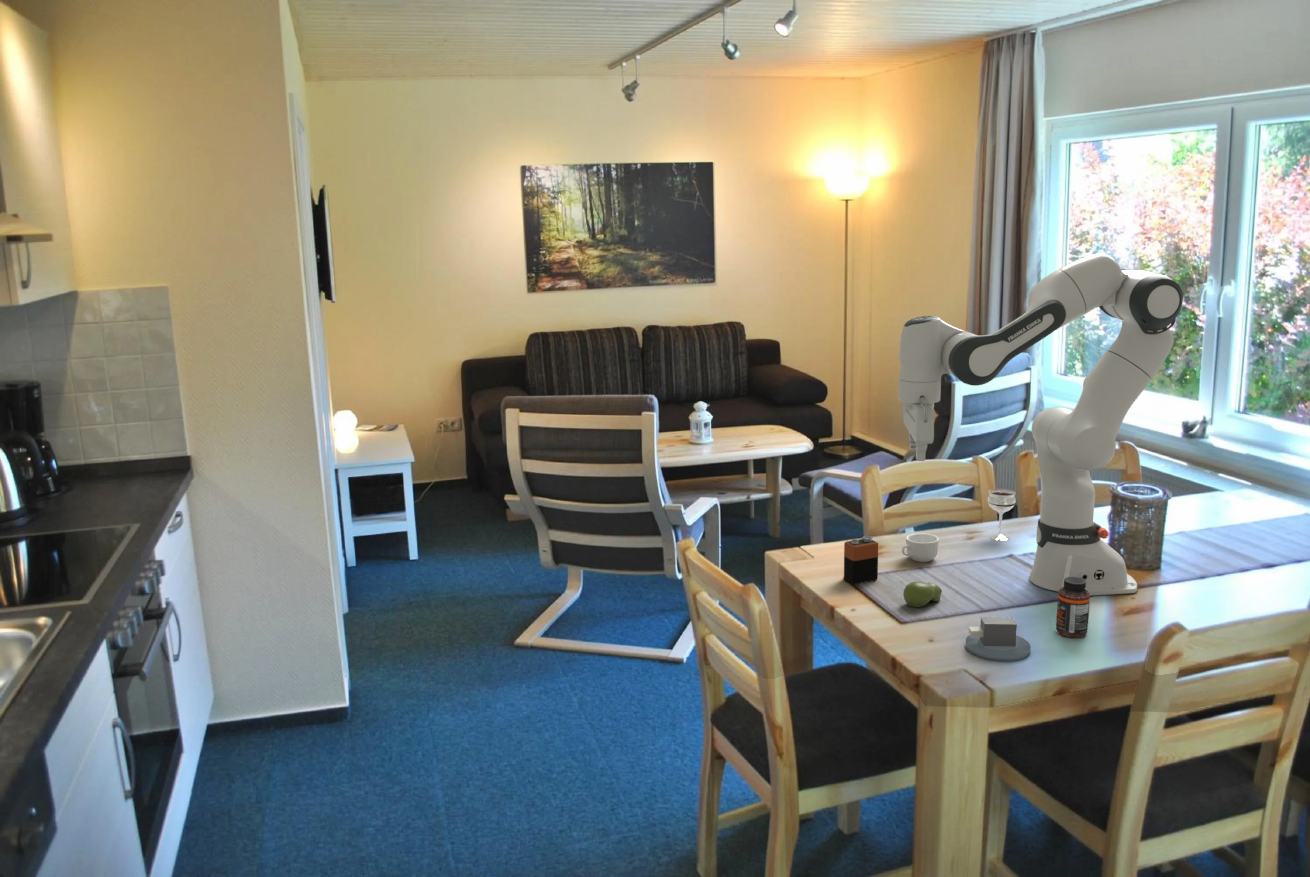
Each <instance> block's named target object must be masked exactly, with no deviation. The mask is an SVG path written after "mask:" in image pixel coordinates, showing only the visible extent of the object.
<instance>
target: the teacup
mask: <svg viewBox="0 0 1310 877" xmlns="http://www.w3.org/2000/svg"><path fill="white" fill-rule="evenodd" d="M939 542H940V539H939V537H938V536H937V535H934V534H932V533H921V532H919V533H918V532H917V533H912V534H908V535H907V536H905V544H904V545H903V547H902V548H901V554H903V555H904V556H906V557H909V558H910V559H912V561H915V562H917V563H930V562H931V561H932V560H934V559H935V558H936V556H937V555H938V551H939V550H938V549H939ZM905 548H906V549H905ZM905 550H906V552H905Z"/></svg>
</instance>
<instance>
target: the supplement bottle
mask: <svg viewBox="0 0 1310 877" xmlns="http://www.w3.org/2000/svg"><path fill="white" fill-rule="evenodd" d="M1085 587H1086V581H1085V580H1084V579H1082V578H1079V577H1067V578H1065V579H1064V587H1062V588H1060V589H1059V591H1057V601H1056V602H1057V603H1056V604H1057V606H1056V618H1055V620H1056V621H1055V631H1056V633H1058V634H1059V635H1061V636H1062V637H1067V638H1069V639H1070V638H1071V639H1073V638H1074V639H1079V638H1080V639H1081V638H1084V637H1086V636H1087V634H1088V630H1089V628H1088V627H1089V618H1090V617H1089V616H1090V604H1091V603H1090V602H1091V596H1090V593H1089V592H1088V591H1087V590H1086V589H1085Z"/></svg>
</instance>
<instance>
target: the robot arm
mask: <svg viewBox="0 0 1310 877" xmlns="http://www.w3.org/2000/svg"><path fill="white" fill-rule="evenodd" d="M1183 302H1184V294H1183V290H1182V288H1181V286H1180V285H1179V283H1178V282H1177V281H1175V280H1174V279H1172V278H1171V277H1169V276H1167V275H1164V274H1160V273H1155V272H1152V271H1148V270H1130V269H1126V268H1125V269H1124V268H1121V266H1120V265H1119V263H1118V262H1117V261H1116V259H1114V258H1113V257H1112V256H1110V255H1109V254H1107V253H1100V252H1099V253H1095V254H1091V255H1087V256H1085V257H1082V258H1080V259H1077V260H1075V261H1073V262H1070V263H1068V264H1066V265H1064V266H1062V267H1060V268H1059V269H1057V270H1056V269H1055V271H1053V272H1052V273H1050V274H1048V275H1046V276H1045V277H1043V278H1042V279H1040V281H1038V282H1037V283H1036V284H1035V285H1034V286H1032V288H1031V289H1030V291H1029V293H1028V298H1027V304H1028V308H1027V310H1026V311H1025V312H1024V313H1023V314H1022V315H1020V316H1018V317H1017V318H1015V319H1014V320H1012V321H1010V322H1009V323H1007V324H1006V325H1004V326H1003V327H1001V328H1000V329H998V330H996V331H995V332H993V333H989V334H985V335H983V334H982V335H979V334H978V335H977V334H975V333H972V332H970V331H967V330H964V329H960V328H958V327H955V326H952V325H951V324H949V323H947V322H945V321H944V320H942V319H941V318H940V317H939V316H936V315H927V316H926V315H922V316H918V317H915V318H911V319H910V320H907V321H906V322H905V323H904V324H903V327H902V329H901V333H900V342H899V353H898V354H899V356H898V359H899V362H900V372H899V374H898V386H897V387H898V388H897V389H898V391H897V393H898V395H897V400H898V401H899V402H901V406H902V407H901V408H902V419H903V420H902V421H903V425H904V426H905V428H906V429H907V431H908V438H909V439H908V440H909V449H910V451H915V459H916V461H918V462H924V461H925V460H926V455H927V454H926V452H927V449H928V445H931V444H933V442H934V440H935V416H934V415H935V412H934V409H935V403H939V402H941V395H942V394H941V392H942V390H941V389H942V388H941V386H942V376H943V375H944V374H948V375H951V376H954V377H955V378H957V379H958V380H959V381H960V382H962V383H964V384H966V385H969V386H975V387H976V386H982V385H986V384H988V383H989V382H992V381H993V380H994V379H995V378H996V377H997V376H998V375H999V374H1000V373H1001V371H1002V370H1003V368H1005V366H1006V365H1007V364H1008V363H1009V362H1010V361H1012V359H1014V358H1015V357H1017V356H1018V355H1020V354H1022V353H1023V352H1024V351H1026V350H1028V349H1030V348H1031V347H1032V346H1034V345H1035V344H1037V343H1038V342H1041V341H1042V340H1043V339H1045V338H1046V337H1048V336H1049V335H1051V334H1052V333H1054V332H1055V331H1057V330H1059V329H1060V328H1062V327H1064V326H1066V325H1067V324H1069V323H1071V322H1073V321H1075V320H1077V319H1079V318H1081V317H1083V316H1085V315H1087V314H1088V313H1089V312H1092V311H1093V310H1094V309H1095V308H1099V309H1100V310H1101V311H1102V312H1103V313H1104V314H1106V315H1107V316H1109V317H1112V318H1115V319H1118V320H1121V327H1120V331H1119V334H1118V335H1117V337H1116V339H1115V340H1114V341H1113V342H1112V343H1111V345H1110V346H1109V347H1108V348H1107V350H1106V351H1105V352H1104V353H1103V354H1102V355H1101V357H1100V359H1098V360H1097V362H1096V364H1095V365H1094V366H1093V367H1092V369H1091V370H1090V371H1089V373H1088V374H1087V375H1086V376H1085V378H1083V383H1082V392H1081V394H1080V397H1079V399H1078V402H1077V404H1076V406H1075V407H1074V409H1071V408H1069V407H1059V406H1058V407H1057V406H1056V407H1048V408H1045V409H1043V410H1041V411H1040V412H1038V413H1037V414H1036V416H1035V417H1034V419H1033V421H1032V424H1031V435H1032V437H1033V440H1034V442H1035V446H1036V453H1037V462H1038V467H1039V474H1040V476H1039V477H1040V484H1041V486H1040V487H1041V488H1040V490H1041V491H1040V492H1041V495H1040V513H1039V516H1040V517H1039V518H1038V519H1037V526H1036V536H1035V537H1036V540H1035V541H1036V544H1037V546H1036V553H1035V556H1034V561H1033V565H1032V567H1031V571H1030V573H1029V574H1028V575H1029V576H1028V580H1029V581H1030V582H1031V583H1032V584H1034V585H1035V586H1037V587H1040V588H1042V589H1045V590H1049V591H1053V592H1058V591H1059V589H1060V588H1062V587H1064V579H1065V578H1067V577H1079V578H1082V579H1084V580H1085V581H1086V587H1085V589H1086V590H1087V591H1088V592H1089V593H1090V597H1092V596H1104V595H1106V596H1107V595H1124V594H1135V593H1137V591H1138V583H1137V581H1136V580H1135V578H1133V576H1131V575H1130V574H1128V572H1127V566H1126V562H1125V559H1124V558H1123V556H1121V555H1120V554H1119V552H1117V551H1116V550H1115V549H1114V548H1113V547H1112V546H1110V545H1109V544H1107V543H1106V542H1105V541H1104V540H1105V539H1107V538H1108V537H1109V535H1110V533H1109V531H1108V530H1107V529H1106V528H1104V527H1102V526H1101V525H1100V524H1098V523H1096V522H1095V521H1094V516H1095V515H1094V513H1095V511H1094V510H1095V499H1096V490H1095V486H1094V483H1093V481H1092V478H1091V474H1090V471H1095V470H1099V469H1102V468H1104V467H1105V466H1106V465H1107V464H1109V463H1110V462H1111V461H1112V459H1113V458H1114V456H1115V454H1116V449H1117V448H1116V446H1117V445H1116V440H1117V435H1118V433H1119V430H1120V428H1121V426H1122V425H1123V424H1122V423H1123V421H1124V419H1125V418H1126V415H1127V413H1128V411H1129V410H1130V408H1131V407H1132V405H1133V404H1134V403H1135V401H1136V400H1137V399H1138V398H1139V396H1140V395H1141V394H1142V392H1144V390H1145V389H1146V388H1147V386H1148V385H1149V383H1150V382H1152V380H1153V379H1154V377H1155V375H1156V374H1157V373H1158V372H1159V370H1160V369H1161V367H1162V366H1163V364H1164V363H1165V361H1166V359H1167V357H1168V356H1169V354H1170V352H1171V350H1172V348H1173V346H1174V343H1175V337H1174V335H1173V332H1172V331H1171V328H1172V327H1173V326H1174V325H1175V323H1176V319H1177V317H1178V316H1179V314H1180V311H1181V309H1182V306H1183ZM1102 539H1103V540H1102Z"/></svg>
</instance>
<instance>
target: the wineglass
mask: <svg viewBox="0 0 1310 877" xmlns="http://www.w3.org/2000/svg"><path fill="white" fill-rule="evenodd" d="M987 491H988V494H989V495H988V497H987V504H988V505H989V507H990V508H991V509H992V510H993V511H995V512H997V514H998V515H999V516H998V517H999V518H998V520H999V521H998V528H999V531H998V533H994V534H991V535H989V538H991V540H995V541H1007V540H1010V539H1011V538H1010V536H1008V535H1006V534H1002V533H1001V532H1002V522H1003V515H1004V514H1005V513H1006V512H1009V511H1010V510H1011V509H1013V508H1014V506H1015V505H1016V497H1015V495H1016V491H1014V490H1011V489H1007V488H1006V489H1005V488H993V489H989V490H987Z"/></svg>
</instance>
